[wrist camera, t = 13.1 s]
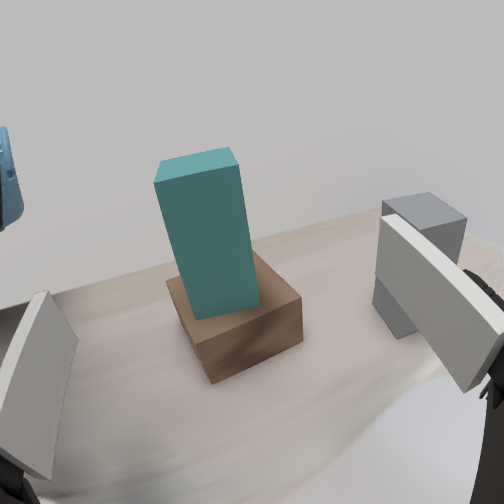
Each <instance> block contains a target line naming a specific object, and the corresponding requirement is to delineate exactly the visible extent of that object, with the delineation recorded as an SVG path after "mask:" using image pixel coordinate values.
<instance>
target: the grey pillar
mask: <svg viewBox="0 0 504 504" xmlns="http://www.w3.org/2000/svg"><path fill="white" fill-rule="evenodd" d="M392 214H397V215H398V216H400V217H401V218H402V219H403V220H405V221H406V222H407V223H408V224H410V225H411V226H412V227H413V228H414V229H416V230H417V231H418V232H419V233H420V234H422V235H423V236H424V237H425V238H426V239H427V240H429V241H430V242H431V243H432V244H433V245H434V246H436V247H437V248H438V249H439V250H440V251H441V252H442V253H443V254H445V255H446V256H447V257H448V258H449V259H450V260H451V261H452V262H453V263H454V264H456V265H457V262H458V258H459V254H460V250H461V246H462V241H463V237H464V232H465V227H466V222H467V217H465V216H464V215H463V214H461V213H460V212H458V211H457V210H455V209H454V208H452V207H451V206H449V205H448V204H447V203H445V202H443V201H442V200H440V199H439V198H437V197H436V196H434V195H433V194H431V193H430V192H427V193H421V194H416V195H410V196H405V197H399V198H393V199H388V200H383V201H382V216H387V215H392ZM382 216H381V217H382ZM372 304H373V305H374V307H375V308H376V310H377V311H378V313H379V314H380V316H381V317H382V318H383V320H384V321H385V323H386V324H387V326H388V327H389V329H390V330H391V332H392V333H393V335H394V336H395V337H396V339H399V338H401V337H404V336H406V335H409V334H411V333H414V332H416V331H419V330H418V328H417V327H416V326H415V324H414V323H413V322H412V320H411V319H410V318H409V316H408V315H407V314H406V313H405V311H404V310H403V309H402V307H401V306H400V305H399V304H398V302H397V301H396V300H395V298H394V297H393V296H392V295H391V293H390V292H389V291H388V290H387V288H386V287H385V286H384V285H383V283H382V282H381V281H380V280H379V279H378V277H377V276H376V280H375V288H374V296H373V303H372Z"/></svg>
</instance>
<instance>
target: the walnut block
mask: <svg viewBox="0 0 504 504" xmlns="http://www.w3.org/2000/svg"><path fill="white" fill-rule="evenodd" d="M252 253H253V260H254V266H255V272H256V279H257V285H258V291H259V298H260V304H261V306H260V307H256V308H251V309H247V310H242V311H238V312H233V313H228V314H224V315H219V316H214V317H209V318H204V319H200V320H195V317H194V314H193V311H192V308H191V305H190V302H189V299H188V296H187V293H186V290H185V287H184V284H183V281H182V278H181V275H180V276H177V277H175V278H172V279H170V280H167V281H166V284H167V287H168V289H169V292H170V295H171V297H172V300H173V303H174V305H175V308H176V310H177V313H178V316H179V318H180V321H181V323H182V325H183V327H184V329H185V331H186V334H187V336H188V338H189V340H190V342H191V344H192V346H193V348H194V350H195V352H196V354H197V356H198V358H199V361H200V363H201V365H202V367H203V368H204V370H205V372H206V374H207V376H208V378H209V380H210V382H211V384H215V383H217V382H219V381H221V380H224V379H226V378H228V377H230V376H232V375H235V374H237V373H239V372H241V371H243V370H245V369H247V368H250V367H252V366H254V365H256V364H258V363H260V362H262V361H264V360H266V359H268V358H270V357H272V356H274V355H276V354H278V353H280V352H282V351H284V350H286V349H288V348H290V347H292V346H294V345H296V344H298V343H300V342H301V341H303V322H302V298H301V296H300V295H299V294H298V293H297V292H296V291H295V290H294V289H293V288H292V287H291V286H290V285H289V284H288V283H286V282H285V281H284V280H283V279H282V278H281V277H280V276H279V275H278V274H277V273H276V272H275V271H274V270H273V269H272V268H271V267H270V266H269V265H268V264H267V263H266V262H265V261H264V260H262V259H261V258H260V257H259V256H258V255H257V254H256V253H255V252H254V251H253V250H252Z"/></svg>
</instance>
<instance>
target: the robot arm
mask: <svg viewBox="0 0 504 504" xmlns="http://www.w3.org/2000/svg"><path fill="white" fill-rule="evenodd" d="M23 210H24V203H23V199H22V195H21V191H20V188H19V184H18V179H17V175H16V171H15V167H14V162H13V158H12V153H11V147H10V142H9V136H8V131H7V128H6V127H4V126H1V127H0V232H1V231H3V230H4V229H5V227H6V226H8V225H10V224H11V223H13V222H14V221H16V220H18V219H19V218H20V217H21V215H22V213H23ZM375 275H376V276H377V277H378V279H379V280H380V281H381V282H382V283H383V285H384V286H385V287H386V288H387V290H388V291H389V292H390V293H391V295H392V296H393V297H394V298H395V300H396V301H397V302H398V304H399V305H400V306H401V307H402V309H403V310H404V311H405V313H406V314H407V315H408V316H409V318H410V319H411V320H412V322H413V323H414V324H415V326H416V327H417V328H418V330H419V331H420V332H421V334H422V335H423V336H424V338H425V339H426V341H427V342H428V343H429V345H430V346H431V347H432V349H433V350H434V352H435V353H436V354H437V356H438V357H439V359H440V360H441V361H442V363H443V364H444V366H445V367H446V369H447V370H448V371H449V373H450V374H451V376H452V377H453V378H454V380H455V382H456V383H457V384H458V386H459V388H460V389H461V390H462V392H463V393H466V392H467V391H469V390H471V389H472V388H474V387H475V386H477V385H479V384H480V383H481V381H482V380H483V378H484V377H485V375H486V374H487V373H488V374H489V375H490V377H491V379H490V380H489V382H488V383H487V385H486V386H485V388H484V389H483V391H482V392H481V394H480V397H479V398H480V399H482V398H483V397H484V395H485V394H486V392H487V391H488V396H487V397H486V399H487V410H486V420H485V428H484V436H483V443H482V450H481V455H480V461H479V466H478V471H477V475H476V480H475V485H474V488H473V492H472V496H471V500H470V504H504V300H503V299H502V298H501V297H500V296H499V295H498V294H497V295H496V294H495V291H494V290H493V289H492V288H491V287H488V285H487V284H486V283H485V282H484V281H483V280H482V279H481V278H480V277H479V276H478V275H476V274H474V273H472V272H470V271H468V270H467V269H465V270H461V269H460V268H459V267H458V266H457V265H456V264H454V263H453V262H452V261H451V260H450V259H449V258H448V257H447V256H446V255H445V254H443V253H442V252H441V251H440V250H439V249H438V248H437V247H436V246H434V245H433V244H432V243H431V242H430V241H429V240H427V239H426V238H425V237H424V236H423V235H422V234H420V233H419V232H418V231H417V230H416V229H414V228H413V227H412V226H411V225H410V224H408V223H407V222H406V221H405V220H403V219H402V218H401V217H400V216H398V215H397V214H392V215H387V216H382V217H380V226H379V240H378V251H377V261H376V271H375ZM77 343H78V338H77V337H76V335H75V334H74V332H73V330H72V329H71V327H70V326H69V324H68V323H67V321H66V319H65V318H64V316H63V315H62V313H61V311H60V310H59V308H58V306H57V305H56V303H55V301H54V300H53V298H52V296H51V294H50V293H49V291H43V292H39V293H35V294H34V295H33V297H32V299H31V301H30V303H29V305H28V307H27V309H26V311H25V313H24V315H23V317H22V319H21V321H20V324H19V326H18V328H17V330H16V332H15V334H14V337H13V339H12V341H11V343H10V346H9V348H8V350H7V353H6V355H5V358H4V360H3V363H2V365H1V368H0V504H40V502H39V500H38V498H37V496H36V495H35V493H34V491H33V489H32V487H31V485H30V483H29V482H28V480H27V479H26V478H24V477H23V474H24V471H25V472H26V473H28V474H29V475H31V476H33V477H34V478H38V479H44V480H50V481H51V480H52V470H53V461H54V454H55V446H56V440H57V433H58V427H59V421H60V416H61V411H62V405H63V400H64V396H65V391H66V386H67V382H68V378H69V374H70V369H71V365H72V361H73V357H74V354H75V350H76V346H77Z"/></svg>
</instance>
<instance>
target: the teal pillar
mask: <svg viewBox="0 0 504 504" xmlns="http://www.w3.org/2000/svg"><path fill="white" fill-rule="evenodd" d="M154 187H155V190H156V194H157V198H158V201H159V205H160V209H161V212H162V216H163V219H164V223H165V226H166V230H167V233H168V236H169V240H170V243H171V246H172V249H173V253H174V256H175V259H176V263H177V266H178V269H179V272H180V275H181V278H182V281H183V284H184V287H185V290H186V293H187V296H188V299H189V302H190V305H191V308H192V311H193V314H194V317H195V320H200V319H204V318H209V317H214V316H219V315H224V314H228V313H233V312H238V311H242V310H247V309H251V308H256V307H260V306H261V304H260V298H259V291H258V285H257V279H256V272H255V266H254V260H253V253H252V247H251V240H250V234H249V228H248V222H247V215H246V209H245V203H244V196H243V190H242V183H241V177H240V170H239V164H238V163H237V161H236V159H235V157H234V156H233V154H232V152H231V151H230V148H229V147H226V148H221V149H215V150H210V151H205V152H201V153H196V154H191V155H186V156H182V157H178V158H173V159H169V160H165V161H161V163H160V166H159V168H158V171H157V174H156V177H155V180H154Z"/></svg>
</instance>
